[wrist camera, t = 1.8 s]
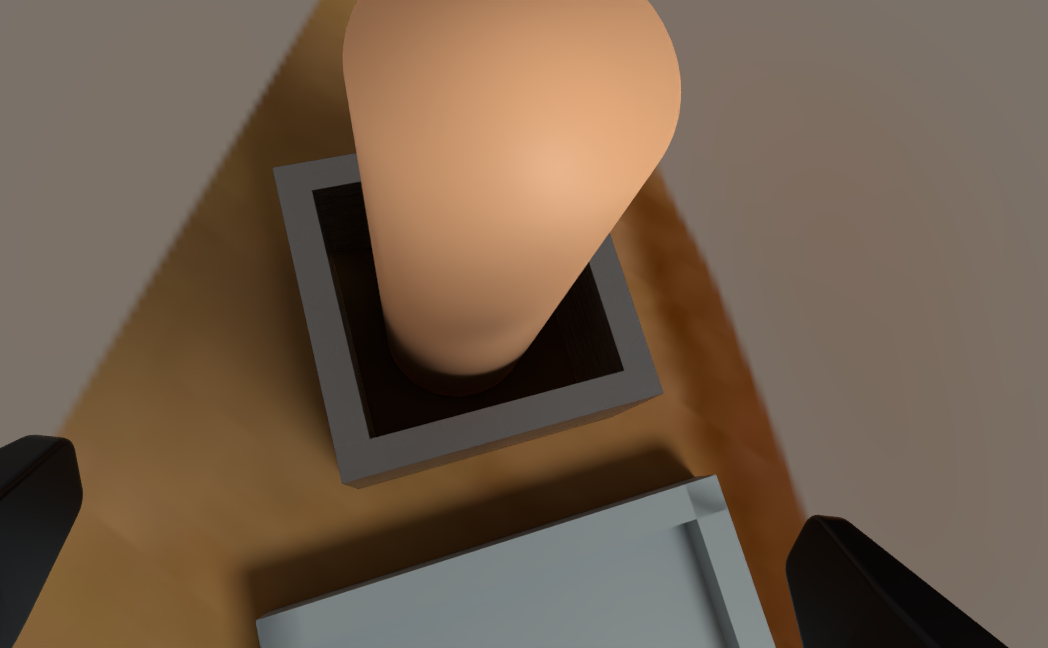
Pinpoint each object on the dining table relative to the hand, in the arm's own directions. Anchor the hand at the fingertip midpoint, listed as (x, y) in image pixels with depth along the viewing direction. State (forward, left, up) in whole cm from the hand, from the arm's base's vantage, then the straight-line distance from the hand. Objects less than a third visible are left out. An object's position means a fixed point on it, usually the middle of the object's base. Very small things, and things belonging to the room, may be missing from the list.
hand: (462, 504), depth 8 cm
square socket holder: (+5, -2, -12) cm, 13 cm away
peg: (+5, -2, -12) cm, 13 cm away
